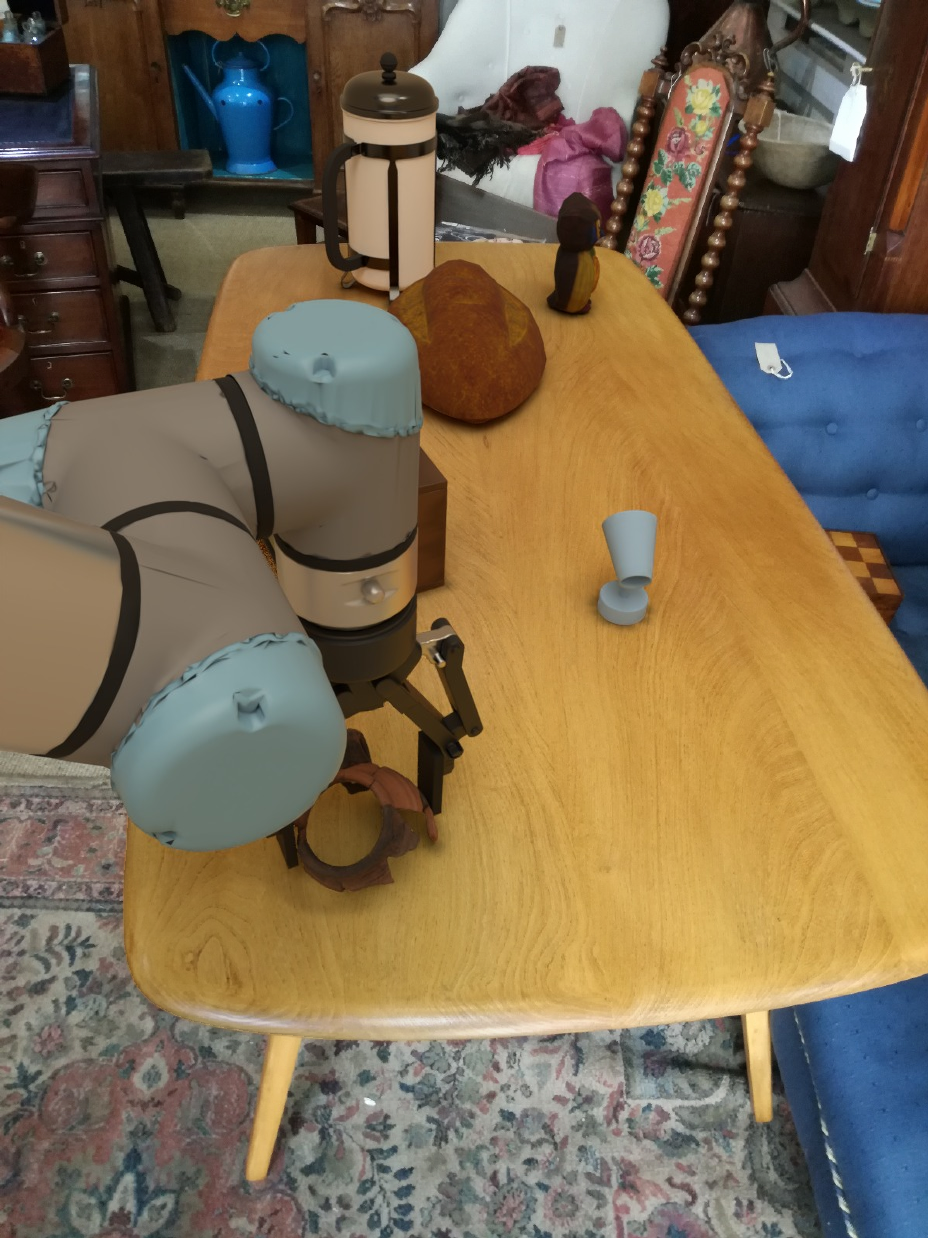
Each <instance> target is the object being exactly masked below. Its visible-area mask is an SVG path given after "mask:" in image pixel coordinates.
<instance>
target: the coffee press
mask: <svg viewBox="0 0 928 1238" xmlns="http://www.w3.org/2000/svg"><path fill="white" fill-rule="evenodd" d="M378 63H379V64H380V67H381V69H378V70H377V69H376V70H370V71H364V72H361V73H359V74H356V75H354V76H353V77H351V78H350V79H349V80H347V82H346V83H345V85H344V87H343V90H342V92H341V94H340V95H339V99H338V100H339V107H340V109H341V111H342V120H343V121H342V122H343V126H342V128H341V134H342V135H341V137H342V139H341V141H342V143H341V144H339V145H337V146H336V147H335V148H334V149H333V150H331V152H330V154H329V155H328V157H327V159H326V161H325V164H324V166H323V171H322V177H321V208H322V225H323V237H324V238H323V239H324V247H325V253H326V257H327V260H328V262H329V263H330V265H331V266H332V267H333V268H334V269H336V270H338V271H341V272H343V274H342V275H341V277H340V285H341V287H342V288H343V289H350V288H351V287H352V286H353V285H354V284H355V283H356V282H358V283H359V284H361V285H362V286H365V287H368V288H370V289H373V290H377V291H382V292H383V291H385V292H388V295H389V305H390V304H391V303H392V301H393V300H394V299H395V298H396V297H397V296H399V295H400V292H403V291H404V290H405V289H406V288H407V287H409V286H410V285H411V284H412V283H414V282H415V281H417V280H419V279H421V278H424V277H426V276H427V275H428V274H429V273H430V272H431V271H432V270H433V269H434V268H436V267H437V266H436V238H437V237H436V233H437V231H436V230H437V229H436V227H437V178H438V177H437V174H438V173H437V172H438V170H437V169H438V168H437V167H438V130H437V128H436V124H437V123H436V122H437V121H436V120H437V112H438V110H439V108H440V99H439V97H438V96H437V95H436V93H435V90H434V87H433V85H431V83H430V82H429V81H428V80H427V79H425V78H424V77H422V76H420V75H418V74H415V73H412V72H409V71H404V70H396V69H397V67H398V64H399V61H398V58H397V56H396V55H395V53H394V52H390V51H387V52H384V53H382V55H381V56H380V59H379V62H378ZM342 166H343V176H344V179H343V180H344V200H345V223H346V224H345V225H346V243H347V244H346V245H347V257H344V256H343V254H342V252H341V247H340V235H339V217H338V216H339V214H338V196H337V194H338V193H337V183H338V177H339V173H340V170H341V168H342ZM349 272H350V273H351V276H353V278H352V279H351V280H350V281H349V282H348V283H345V282H343V281H344V279H345V278H346V277H347V275H348V274H349Z"/></svg>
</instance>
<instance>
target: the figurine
mask: <svg viewBox="0 0 928 1238" xmlns="http://www.w3.org/2000/svg"><path fill="white" fill-rule="evenodd" d="M602 220H603V219H602V215H601V211H600V209H599V207H598V206H597V204H596V203H595V202H594V201H593V200H591V199H590V198H589V197H587V196H586V195H585V194H584V193H582V192H580V191H579V192H578V191H574V192H572V193H571V194H569V195H568V196H567V197H566V198H565V199H563V200H562V203H561V206H560V208H559V210H558V212H557V221H556V228H555V229H556V237H557V239H558V243H559V246H558V248H557V251H556V254H555V255H556V256H555V262H554V268H553V278H554V279H553V280H554V289H553V291H552V292H551V293H550V294H549V295H548V296H547V297H546V303H547V305H548V306H549V307H551V308H553V309H556V310H558V311H562V312H566V313H569V314H575V315H577V314H587V313H589V312H590V310H591V309H592V306H591V305H592V300H591V296H592V294H593V293H594V292H595V291H596V289H597V287H598V283H599V279H600V274H601V264H600V260H599V258H598V257H597V251H596V249H595V245H596V244H597V242H598V241H599V240H600V239H602V238H604V237H605V236H606V234H605V231H604V230H603V229H602V223H603V221H602Z"/></svg>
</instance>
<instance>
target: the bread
mask: <svg viewBox="0 0 928 1238" xmlns="http://www.w3.org/2000/svg"><path fill="white" fill-rule="evenodd" d="M435 267H436V268H434V267H433V270H432V271H431V272H430V273H429V274H428V275H427V276H426V277H424V278H421V279H419V280H417V281H415V282H414V283H412V284H411V285H410V286H409V287H407V288H406V289H405V290H403V291H401V292H400V293H399V296H397V297H396V298H395V299H394V300H393V301H392V303H391V304H390V303H389V306H388V308H387V310H386V312H388V313H390V314H392V315H393V316H395V317H396V318H397V319H398V320H399V321H400V322H401V323H402V324H403V325H404V326H405V327H406V328H408V329H409V331H410V333H411V335H412V336H413V338H414V340H415V342H416V346H417V350H418V362H419V370H420V380H421V404H424V405H425V406H428V407H429V408H431V409H433V410H435V411H437V412H439V413H442V414H443V415H445V416H448V417H451V418H454V419H456V420H460V421H464V422H465V423H466V422H467V423H470V424H483V423H486V422H488V421H491V420H494V419H496V418H499V417H502V416H505V415H506V414H508V413H510V412H511V411H512V410H514V409H516V408H517V407H519V406H520V405H521V404H522V403H523V402H525V401H526V400H527V399H528V398H529V397H530V396H531V394H532V393H533V392H534V390H535V389H536V388H537V387H538V385H539V384H540V383H541V380H542V377H543V375H544V372H545V371H546V364H547V359H548V358H547V354H546V349H545V342H544V339H543V335H542V333H541V330H540V327H539V324H537V321H536V319H535V318H534V315H533V313H532V311H531V309H530V307H529V306H528V305H526V304H525V303H524V302H523V301H522V300H521V299H520V298H519V297H517V296H516V295H515V294H514V293H512V292H511V291H510V290H509V289H507V288H506V287H505V286H503V285H502V284H500V283H499V282H498V281H497V280H496V279H495V278H493V277H492V276H491V275H490V274H489V272H487V271H486V270H485V269H484V268H483V267H482V266H481V265H480V264H478V263H475V262H472V261H468V260H464V259H461V258H457V259H448V260H446V261H445V262H443V263H441V264H439V265H438V266H435Z"/></svg>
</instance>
